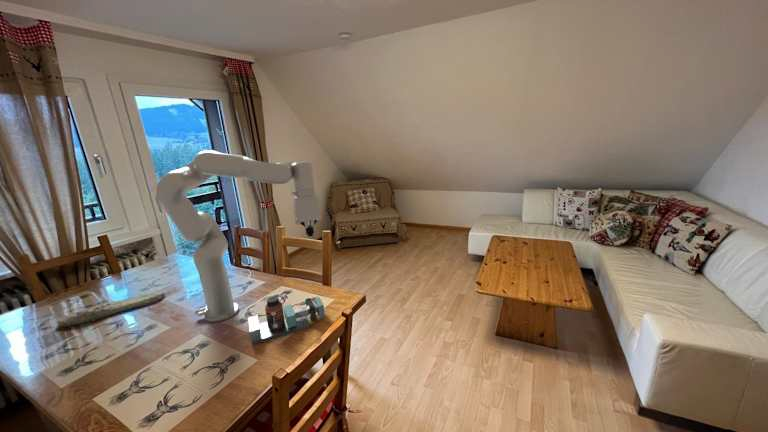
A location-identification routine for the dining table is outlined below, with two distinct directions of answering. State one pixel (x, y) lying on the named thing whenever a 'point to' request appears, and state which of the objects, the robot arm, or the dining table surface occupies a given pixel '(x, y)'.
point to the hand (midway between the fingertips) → (310, 235)
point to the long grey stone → (109, 309)
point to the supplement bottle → (274, 313)
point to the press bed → (264, 334)
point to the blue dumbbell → (301, 312)
